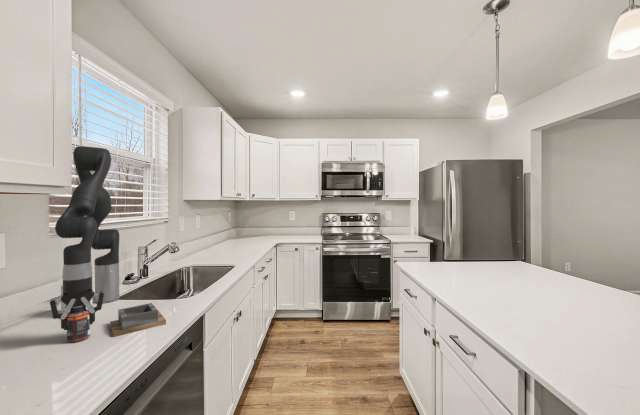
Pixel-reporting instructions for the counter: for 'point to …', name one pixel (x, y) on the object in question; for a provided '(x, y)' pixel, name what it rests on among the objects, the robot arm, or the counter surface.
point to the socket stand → (136, 319)
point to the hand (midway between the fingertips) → (78, 326)
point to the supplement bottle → (78, 324)
